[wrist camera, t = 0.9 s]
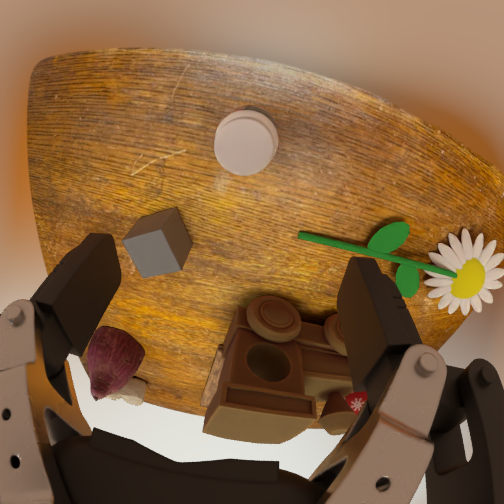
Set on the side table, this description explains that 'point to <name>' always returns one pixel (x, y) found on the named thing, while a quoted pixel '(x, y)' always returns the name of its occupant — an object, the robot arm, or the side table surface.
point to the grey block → (158, 243)
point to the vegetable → (112, 360)
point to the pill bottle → (246, 140)
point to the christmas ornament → (356, 400)
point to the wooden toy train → (279, 376)
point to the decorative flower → (446, 272)
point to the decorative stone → (131, 392)
